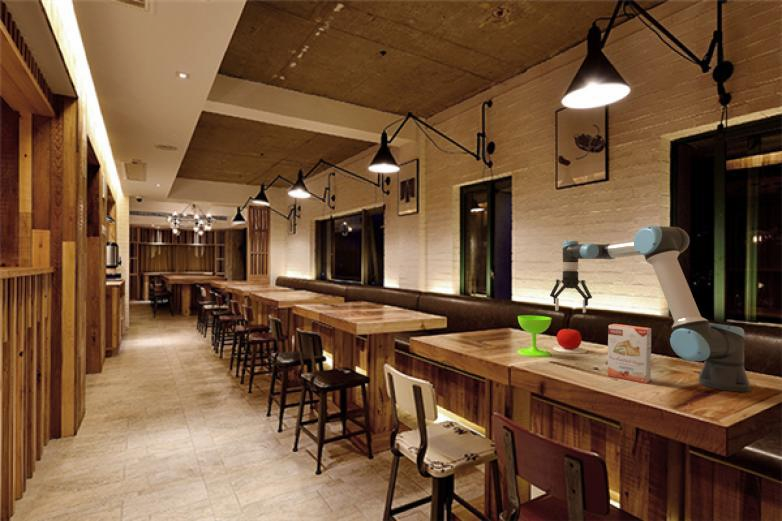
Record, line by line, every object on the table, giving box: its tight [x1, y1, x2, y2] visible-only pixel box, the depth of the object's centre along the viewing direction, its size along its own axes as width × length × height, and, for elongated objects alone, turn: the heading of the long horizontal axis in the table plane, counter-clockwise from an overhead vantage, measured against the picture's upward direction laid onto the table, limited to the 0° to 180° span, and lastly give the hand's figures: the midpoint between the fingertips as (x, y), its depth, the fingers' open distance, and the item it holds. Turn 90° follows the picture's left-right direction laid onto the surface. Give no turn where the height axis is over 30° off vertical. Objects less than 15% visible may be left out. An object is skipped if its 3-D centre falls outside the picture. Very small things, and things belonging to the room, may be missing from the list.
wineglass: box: [517, 315, 552, 358], centre depth 206 cm, size 16×16×18 cm
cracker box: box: [607, 323, 652, 385], centre depth 163 cm, size 14×6×21 cm, turn 43°
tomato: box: [556, 327, 582, 349], centre depth 214 cm, size 11×12×10 cm
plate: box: [552, 345, 587, 355], centre depth 214 cm, size 16×16×1 cm
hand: (570, 311), depth 214 cm, fingers open, 13 cm apart
